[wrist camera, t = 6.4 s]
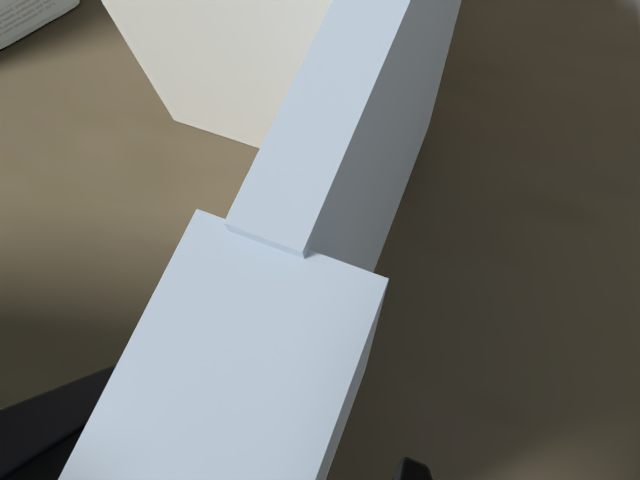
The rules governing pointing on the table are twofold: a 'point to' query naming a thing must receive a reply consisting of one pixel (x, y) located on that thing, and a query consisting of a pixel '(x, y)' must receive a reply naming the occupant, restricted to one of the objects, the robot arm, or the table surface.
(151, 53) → the large white box
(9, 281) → the table surface
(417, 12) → the camera side door
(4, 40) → the supplement box
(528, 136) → the table surface
